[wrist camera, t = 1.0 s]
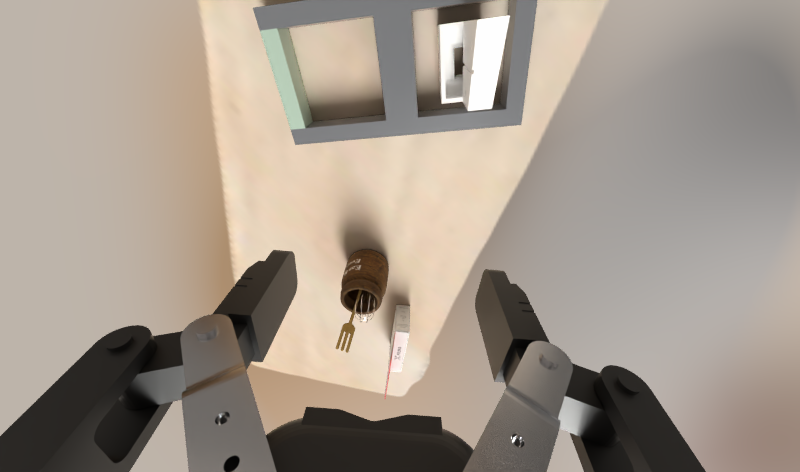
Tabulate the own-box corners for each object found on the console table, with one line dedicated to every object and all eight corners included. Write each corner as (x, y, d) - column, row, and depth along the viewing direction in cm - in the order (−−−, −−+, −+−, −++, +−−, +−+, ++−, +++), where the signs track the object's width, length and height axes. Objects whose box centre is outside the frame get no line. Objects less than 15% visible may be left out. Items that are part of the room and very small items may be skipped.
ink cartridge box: (410, 304, 46) (408, 362, 39) (402, 345, 53) (399, 402, 45) (395, 303, 46) (389, 360, 38) (389, 344, 53) (383, 400, 45)
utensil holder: (396, 258, 41) (389, 331, 31) (377, 286, 44) (364, 359, 35) (358, 241, 39) (338, 311, 30) (341, 270, 43) (317, 342, 33)
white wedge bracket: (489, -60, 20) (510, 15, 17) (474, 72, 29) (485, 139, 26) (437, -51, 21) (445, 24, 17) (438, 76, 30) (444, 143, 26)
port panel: (266, 9, 25) (252, 7, 23) (531, -29, 23) (541, -34, 21) (303, 137, 32) (295, 144, 30) (514, 118, 29) (521, 124, 27)
